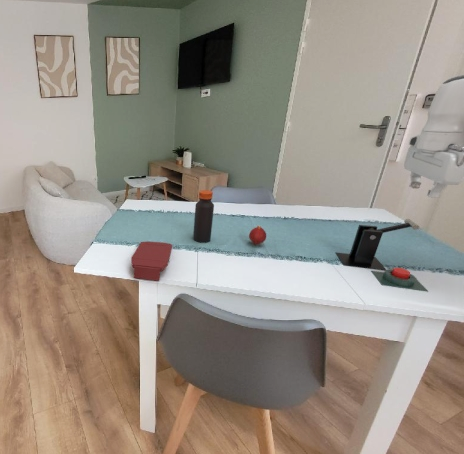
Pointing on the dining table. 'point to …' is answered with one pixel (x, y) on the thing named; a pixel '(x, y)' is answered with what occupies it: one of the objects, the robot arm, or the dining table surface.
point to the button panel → (398, 281)
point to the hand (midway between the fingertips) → (422, 192)
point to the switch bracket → (363, 249)
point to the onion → (257, 235)
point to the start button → (400, 273)
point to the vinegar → (203, 217)
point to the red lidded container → (150, 259)
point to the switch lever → (397, 226)
